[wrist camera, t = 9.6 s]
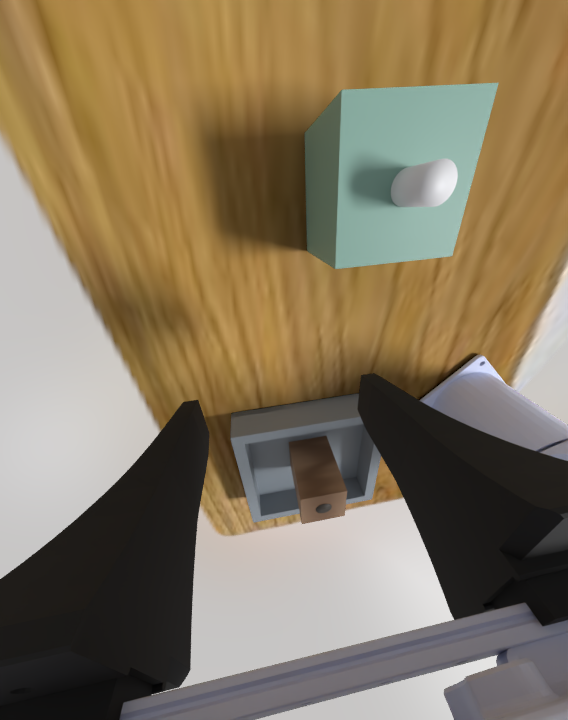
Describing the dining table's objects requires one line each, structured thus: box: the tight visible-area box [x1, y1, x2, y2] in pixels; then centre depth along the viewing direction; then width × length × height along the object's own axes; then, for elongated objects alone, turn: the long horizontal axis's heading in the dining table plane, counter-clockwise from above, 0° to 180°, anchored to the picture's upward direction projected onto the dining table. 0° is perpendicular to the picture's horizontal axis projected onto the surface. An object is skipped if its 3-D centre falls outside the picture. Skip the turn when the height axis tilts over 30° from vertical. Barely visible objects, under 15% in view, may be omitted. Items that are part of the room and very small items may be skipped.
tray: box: [230, 393, 381, 522], centre depth 26 cm, size 14×14×3 cm
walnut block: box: [289, 436, 347, 524], centre depth 24 cm, size 4×4×6 cm
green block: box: [305, 83, 498, 269], centre depth 12 cm, size 6×6×8 cm
